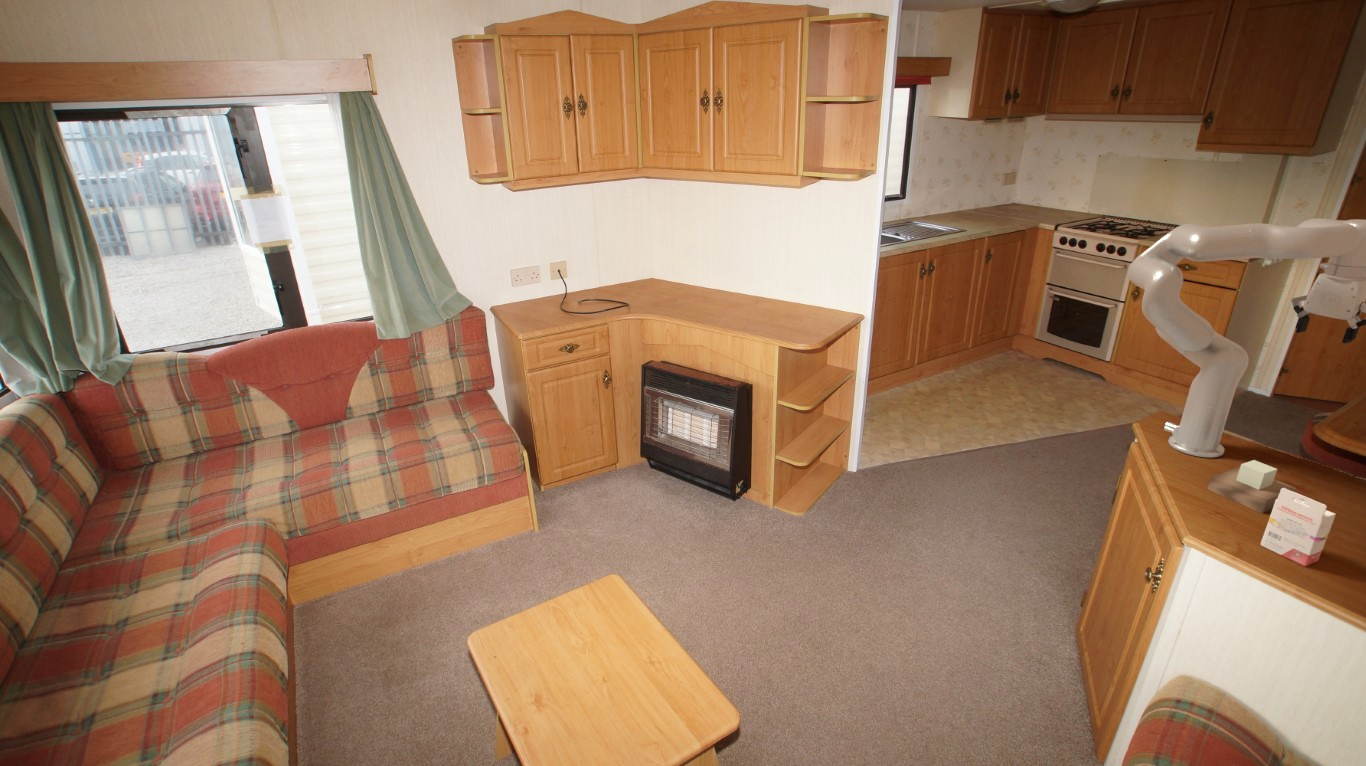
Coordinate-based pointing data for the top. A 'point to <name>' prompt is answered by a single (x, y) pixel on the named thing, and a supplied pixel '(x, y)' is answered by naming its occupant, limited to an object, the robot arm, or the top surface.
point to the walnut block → (1246, 491)
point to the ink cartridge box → (1297, 527)
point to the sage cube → (1256, 474)
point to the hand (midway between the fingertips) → (1323, 337)
